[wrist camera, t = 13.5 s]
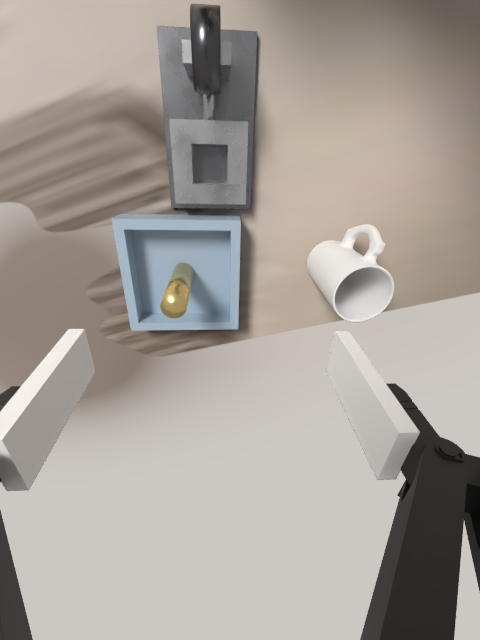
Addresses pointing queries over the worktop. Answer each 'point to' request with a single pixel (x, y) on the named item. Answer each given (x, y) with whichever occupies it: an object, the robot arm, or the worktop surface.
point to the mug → (352, 275)
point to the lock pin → (177, 291)
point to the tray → (171, 249)
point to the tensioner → (208, 110)
